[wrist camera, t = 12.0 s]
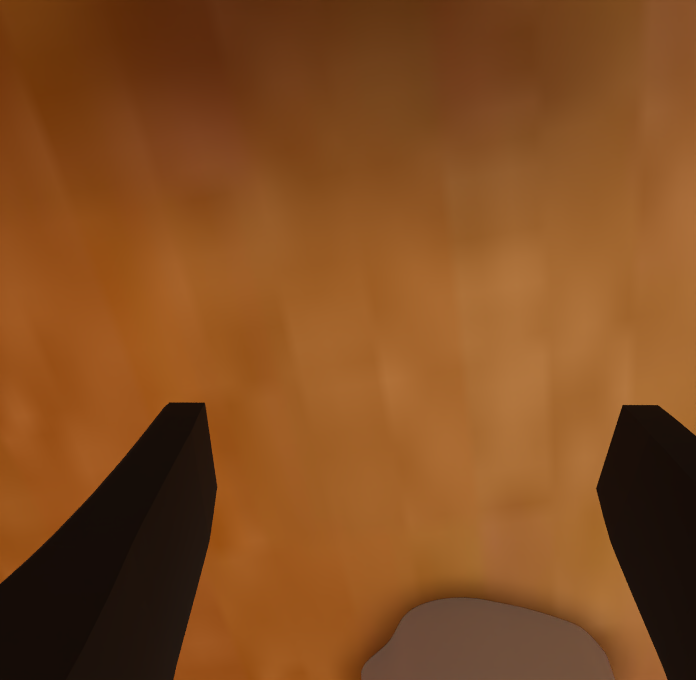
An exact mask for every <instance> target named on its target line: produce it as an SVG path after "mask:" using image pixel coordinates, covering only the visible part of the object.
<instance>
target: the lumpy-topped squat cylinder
mask: <svg viewBox="0 0 696 680" xmlns="http://www.w3.org/2000/svg"><path fill="white" fill-rule="evenodd" d="M361 678H362V680H615V678H614V675H613V672H612V669H611V666H610V664H609V661H608V658H607V656H606V654H605V652H604V651H603V649H602V648H601V647H600V646H599V644H598V643H597V642H596V641H595V640H594V639H593V638H592V637H591V636H590V635H589V634H588V633H587V632H586V631H585V630H584V629H582V628H581V627H579V626H577V625H575V624H573V623H570V622H568V621H565V620H562V619H559V618H557V617H553V616H550V615H547V614H544V613H541V612H537V611H534V610H530V609H526V608H522V607H518V606H513V605H508V604H503V603H498V602H493V601H488V600H483V599H475V598H447V599H440V600H435V601H431V602H427V603H424V604H421V605H419V606H417V607H415V608H413V609H412V610H410V611H409V612H408V613H407V614H406V615H405V616H404V617H403V618H402V620H401V621H400V623H399V625H398V626H397V628H396V631H395V633H394V634H393V636H392V638H391V639H390V641H389V642H388V643H387V644H386V645H385V646H384V647H383V648H382V649H381V650H379V651H378V652H377V653H376V654H375V655H373V656H372V657H371V658H370V659H369V660H368V661H367V662H366V663H365V665H364V666H363V668H362V672H361Z"/></svg>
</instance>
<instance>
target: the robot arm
mask: <svg viewBox="0 0 696 680" xmlns="http://www.w3.org/2000/svg"><path fill="white" fill-rule="evenodd" d="M596 489H597V493H598V497H599V501H600V505H601V509H602V513H603V517H604V520H605V524H606V527H607V531H608V534H609V538H610V541H611V544H612V547H613V549H614V552H615V554H616V557H617V559H618V561H619V564H620V566H621V569H622V571H623V573H624V576H625V578H626V581H627V583H628V586H629V588H630V590H631V593H632V595H633V597H634V600H635V602H636V604H637V607H638V609H639V611H640V614H641V616H642V619H643V621H644V623H645V626H646V628H647V630H648V633H649V635H650V637H651V640H652V642H653V644H654V647H655V649H656V652H657V654H658V656H659V659H660V661H661V663H662V666H663V668H664V671H665V674H666V676H667V679H668V680H696V436H695V435H694V434H693V433H692V432H690V431H689V430H688V429H687V428H686V427H684V426H683V425H682V424H681V423H680V422H678V421H677V420H676V419H675V418H674V417H672V416H671V415H670V414H669V413H667V412H666V411H665V410H663V409H662V408H661V407H660V406H658V405H623V406H622V409H621V412H620V415H619V418H618V421H617V425H616V428H615V431H614V434H613V437H612V440H611V444H610V447H609V450H608V453H607V456H606V459H605V462H604V466H603V469H602V472H601V475H600V478H599V481H598V485H597V488H596ZM216 491H217V483H216V476H215V469H214V462H213V455H212V448H211V441H210V434H209V427H208V421H207V414H206V407H205V403H169V404H167V405H166V406H165V407H164V408H163V409H162V411H161V412H160V413H159V415H158V416H157V417H156V418H155V420H154V421H153V422H152V423H151V425H150V426H149V427H148V429H147V430H146V431H145V432H144V434H143V435H142V436H141V437H140V439H139V440H138V441H137V442H136V444H135V445H134V446H133V447H132V448H131V450H130V451H129V452H128V453H127V455H126V456H125V457H124V458H123V459H122V461H121V462H120V463H119V464H118V465H117V466H116V467H115V469H114V470H113V471H112V472H111V473H110V474H109V476H108V477H107V478H106V479H105V480H104V481H103V482H102V484H101V485H100V486H99V487H98V488H97V489H96V490H95V492H94V493H93V494H92V495H91V496H90V497H89V498H88V499H87V500H86V501H85V502H84V503H83V504H82V506H81V507H80V508H79V509H78V510H77V511H76V512H75V513H74V514H73V515H72V516H71V517H70V518H69V519H68V520H67V521H66V522H65V523H64V524H63V525H62V526H61V527H60V528H59V529H58V531H57V532H56V533H55V534H54V535H53V536H52V537H51V538H50V539H49V540H47V541H46V542H45V543H44V544H43V545H42V546H41V547H40V548H39V549H38V550H37V551H36V552H35V553H34V554H33V555H32V556H31V557H30V558H29V559H28V560H26V561H25V562H24V563H23V564H22V565H21V566H20V567H19V568H18V569H16V570H15V571H14V572H13V573H12V574H11V575H10V576H9V577H8V578H6V579H5V580H4V581H3V582H2V583H1V584H0V680H173V678H174V674H175V670H176V665H177V661H178V657H179V654H180V650H181V646H182V642H183V639H184V635H185V631H186V628H187V624H188V620H189V616H190V613H191V609H192V605H193V601H194V598H195V594H196V590H197V587H198V583H199V579H200V575H201V571H202V568H203V564H204V560H205V556H206V552H207V548H208V544H209V540H210V534H211V527H212V520H213V513H214V506H215V498H216Z"/></svg>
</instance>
